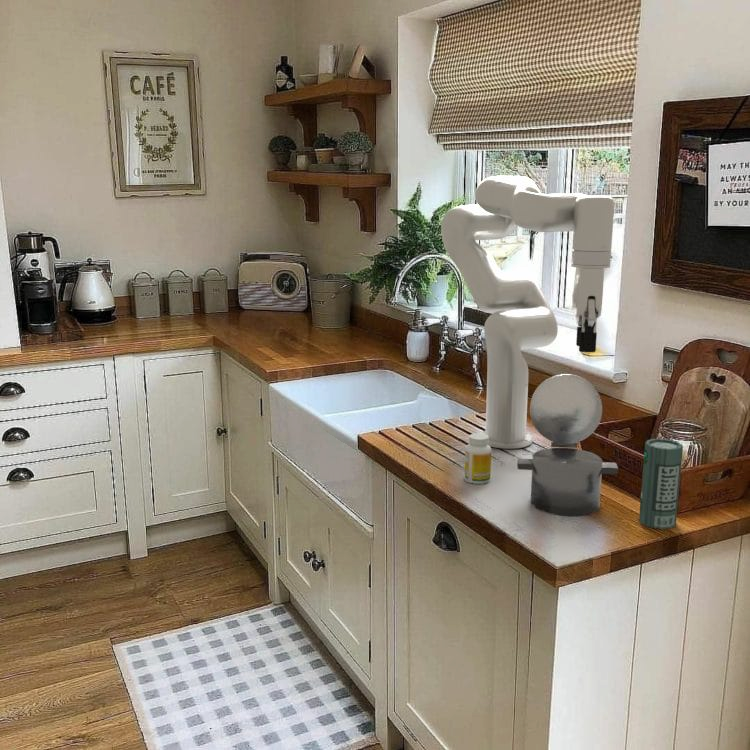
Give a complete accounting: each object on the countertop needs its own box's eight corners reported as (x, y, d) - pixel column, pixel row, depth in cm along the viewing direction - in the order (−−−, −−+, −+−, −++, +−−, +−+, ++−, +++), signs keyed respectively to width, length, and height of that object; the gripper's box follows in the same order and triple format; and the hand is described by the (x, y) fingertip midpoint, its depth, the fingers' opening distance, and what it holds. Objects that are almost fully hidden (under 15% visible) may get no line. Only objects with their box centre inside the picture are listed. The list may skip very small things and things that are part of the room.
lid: (528, 446, 166) (528, 443, 168) (600, 449, 164) (598, 446, 166) (531, 373, 163) (530, 371, 166) (604, 375, 161) (602, 374, 164)
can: (664, 514, 154) (671, 438, 150) (681, 527, 148) (688, 448, 145) (634, 516, 153) (640, 439, 150) (649, 530, 147) (656, 450, 144)
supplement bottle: (459, 480, 171) (460, 436, 169) (474, 473, 175) (475, 430, 173) (480, 486, 168) (481, 441, 166) (495, 479, 172) (497, 435, 169)
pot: (515, 488, 167) (517, 445, 165) (609, 492, 164) (612, 450, 162) (516, 513, 155) (518, 467, 152) (619, 518, 152) (622, 472, 150)
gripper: (568, 255, 172) (563, 340, 177) (575, 263, 156) (570, 357, 160) (605, 255, 171) (599, 341, 176) (616, 264, 155) (610, 358, 159)
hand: (585, 348), depth 168 cm, fingers open, 5 cm apart
